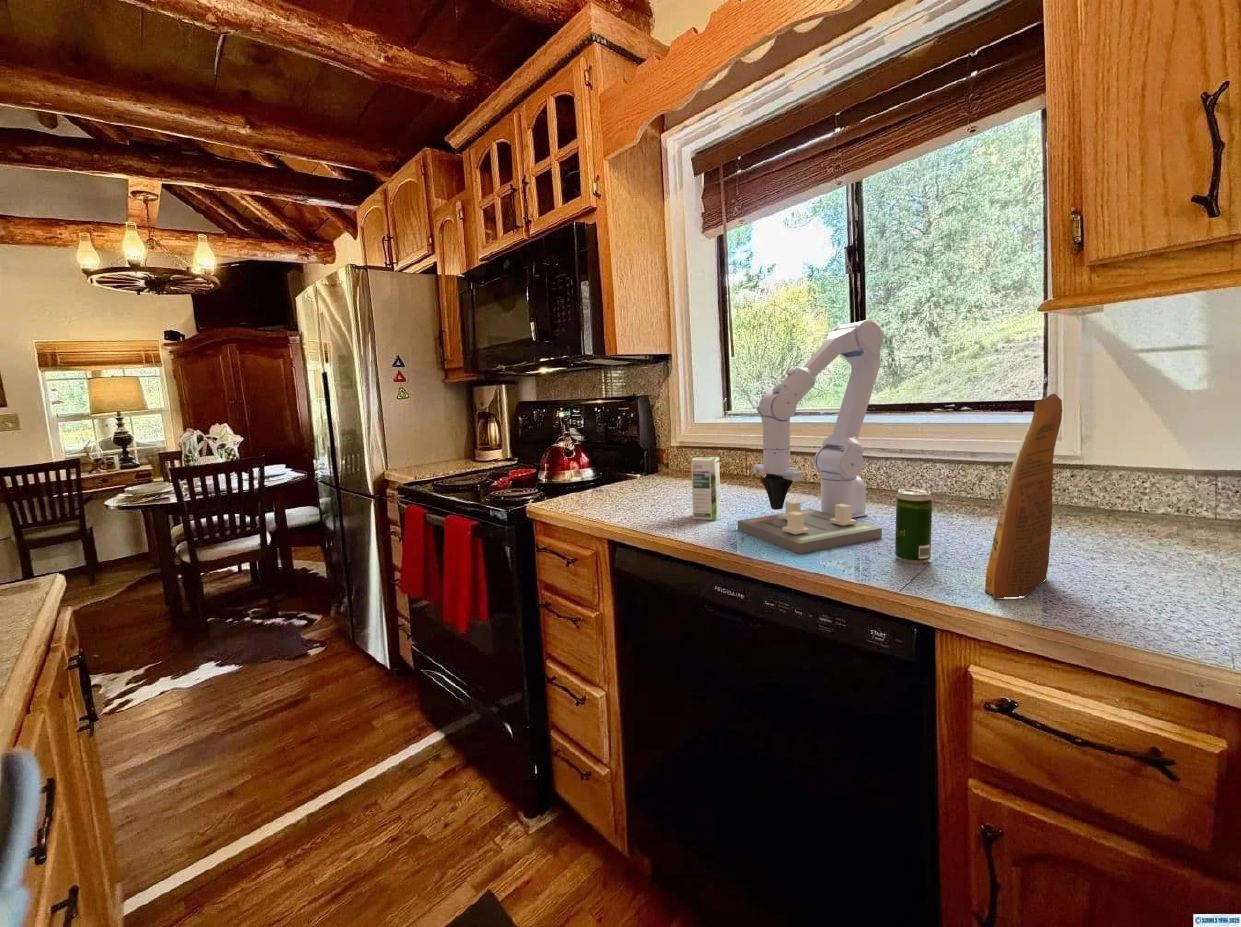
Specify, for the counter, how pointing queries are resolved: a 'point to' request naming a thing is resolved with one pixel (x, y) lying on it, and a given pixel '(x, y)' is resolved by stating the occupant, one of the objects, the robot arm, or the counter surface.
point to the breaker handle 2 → (843, 515)
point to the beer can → (913, 526)
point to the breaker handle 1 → (795, 523)
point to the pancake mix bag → (1026, 509)
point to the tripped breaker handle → (792, 508)
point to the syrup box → (705, 488)
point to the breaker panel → (819, 533)
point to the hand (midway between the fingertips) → (777, 508)
